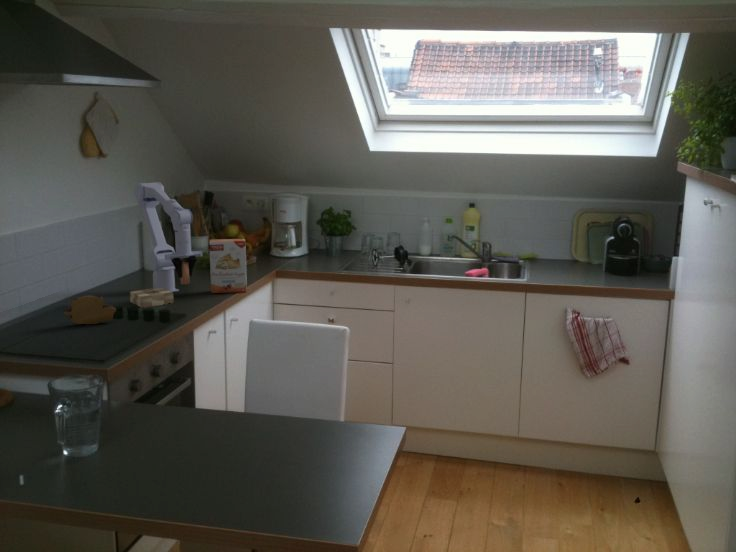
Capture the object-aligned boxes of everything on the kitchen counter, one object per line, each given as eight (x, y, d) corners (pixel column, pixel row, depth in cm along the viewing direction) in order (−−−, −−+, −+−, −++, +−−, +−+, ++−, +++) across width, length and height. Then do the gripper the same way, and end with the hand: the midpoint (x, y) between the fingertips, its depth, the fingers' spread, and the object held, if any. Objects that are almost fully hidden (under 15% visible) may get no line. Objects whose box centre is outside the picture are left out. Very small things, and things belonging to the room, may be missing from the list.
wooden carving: (116, 320, 253) (114, 291, 251) (117, 323, 249) (115, 293, 247) (64, 325, 247) (61, 295, 245) (64, 328, 242) (62, 298, 241)
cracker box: (211, 294, 293) (208, 241, 289) (211, 290, 298) (209, 239, 294) (247, 292, 295) (245, 240, 291) (247, 289, 301) (245, 238, 297)
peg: (179, 283, 287) (178, 262, 285) (187, 282, 289) (186, 261, 287) (183, 284, 284) (181, 264, 283) (191, 283, 286) (190, 263, 285)
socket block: (130, 301, 280) (129, 291, 279) (161, 297, 287) (160, 287, 286) (142, 307, 270) (141, 297, 269) (173, 303, 277) (173, 292, 277)
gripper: (169, 244, 276) (171, 280, 279) (205, 241, 285) (206, 276, 287) (161, 242, 281) (163, 277, 284) (197, 239, 290) (199, 273, 293)
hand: (184, 276), depth 286 cm, fingers closed on peg, 3 cm apart
